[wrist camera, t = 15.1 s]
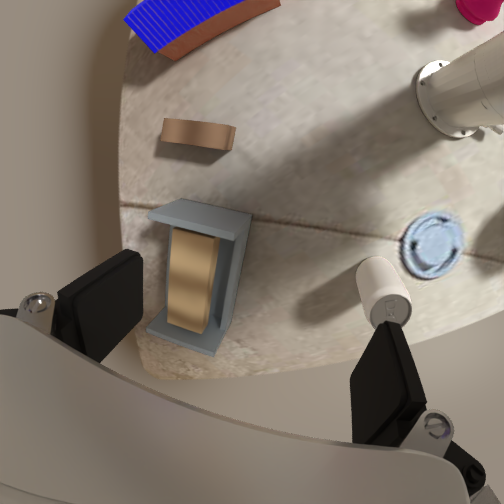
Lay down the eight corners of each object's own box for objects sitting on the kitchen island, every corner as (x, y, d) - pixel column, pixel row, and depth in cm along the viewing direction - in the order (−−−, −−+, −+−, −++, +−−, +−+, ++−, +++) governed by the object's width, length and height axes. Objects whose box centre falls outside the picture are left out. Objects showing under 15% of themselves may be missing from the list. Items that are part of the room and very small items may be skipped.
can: (356, 294, 43) (366, 339, 32) (353, 258, 41) (365, 295, 30) (393, 289, 41) (413, 331, 30) (392, 252, 39) (416, 287, 28)
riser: (236, 127, 38) (228, 125, 34) (231, 150, 39) (223, 149, 36) (176, 120, 39) (164, 118, 36) (172, 141, 41) (160, 140, 37)
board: (207, 323, 44) (201, 334, 42) (175, 312, 45) (167, 322, 43) (221, 232, 38) (214, 238, 36) (182, 222, 39) (172, 228, 36)
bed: (252, 214, 42) (234, 233, 33) (231, 322, 50) (213, 357, 41) (181, 198, 44) (148, 211, 34) (171, 303, 51) (146, 332, 42)
